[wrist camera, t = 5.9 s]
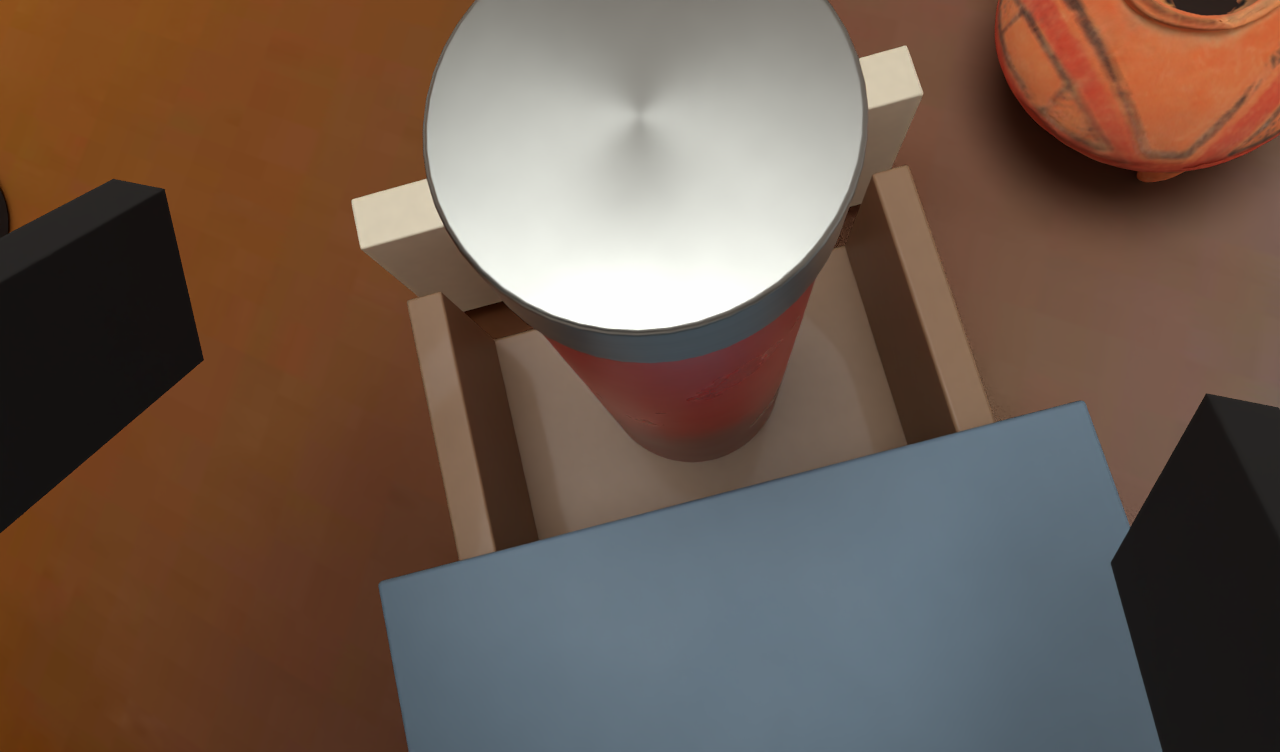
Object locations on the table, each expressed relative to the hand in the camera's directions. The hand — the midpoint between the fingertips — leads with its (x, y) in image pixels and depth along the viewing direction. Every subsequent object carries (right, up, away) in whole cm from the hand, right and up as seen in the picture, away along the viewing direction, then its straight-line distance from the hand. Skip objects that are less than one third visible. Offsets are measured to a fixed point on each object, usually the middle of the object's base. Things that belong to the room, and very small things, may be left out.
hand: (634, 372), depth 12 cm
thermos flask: (+1, 0, +11) cm, 11 cm away
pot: (+13, +8, +14) cm, 21 cm away
